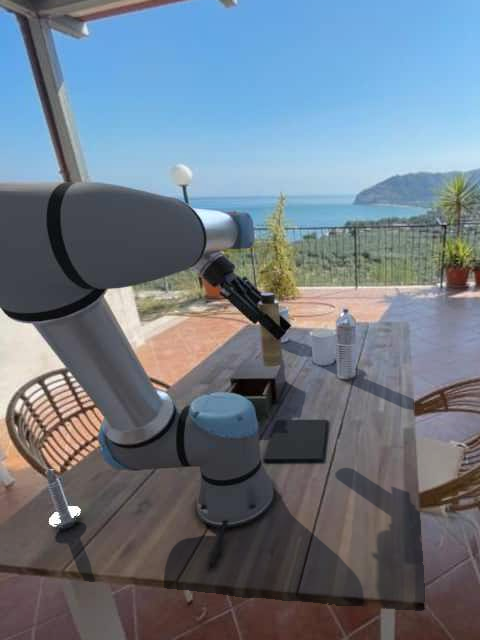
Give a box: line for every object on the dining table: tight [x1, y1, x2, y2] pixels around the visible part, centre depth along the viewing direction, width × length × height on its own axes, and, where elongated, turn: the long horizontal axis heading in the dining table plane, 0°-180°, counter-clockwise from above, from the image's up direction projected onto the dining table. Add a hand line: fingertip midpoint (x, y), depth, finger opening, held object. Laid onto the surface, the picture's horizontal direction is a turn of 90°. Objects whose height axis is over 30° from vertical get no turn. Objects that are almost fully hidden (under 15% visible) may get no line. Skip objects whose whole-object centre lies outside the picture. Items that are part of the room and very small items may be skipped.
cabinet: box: [229, 358, 286, 404], centre depth 126 cm, size 16×14×9 cm
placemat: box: [263, 419, 328, 463], centre depth 102 cm, size 18×14×1 cm
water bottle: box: [335, 307, 357, 381], centre depth 135 cm, size 7×7×25 cm
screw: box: [44, 468, 81, 530], centre depth 73 cm, size 13×5×5 cm
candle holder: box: [309, 328, 336, 366], centre depth 150 cm, size 10×10×12 cm
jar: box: [279, 305, 291, 344], centre depth 173 cm, size 11×10×15 cm
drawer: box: [227, 381, 274, 421], centre depth 113 cm, size 19×12×7 cm, turn 1°
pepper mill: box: [257, 292, 284, 367], centre depth 97 cm, size 5×5×18 cm
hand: (285, 332), depth 97 cm, fingers closed on pepper mill, 5 cm apart
